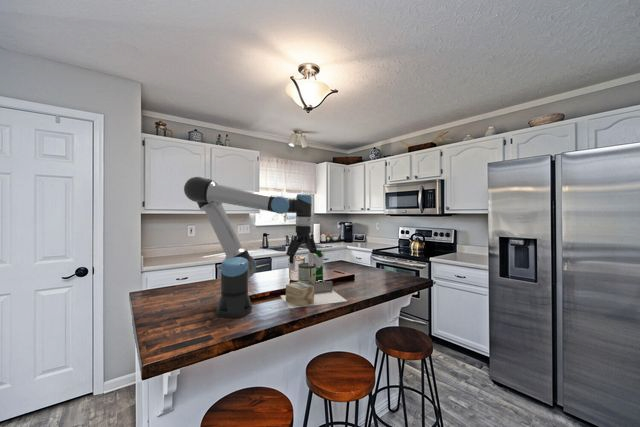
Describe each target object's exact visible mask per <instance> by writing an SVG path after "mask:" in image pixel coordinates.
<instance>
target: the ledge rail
mask: <svg viewBox="0 0 640 427" xmlns="http://www.w3.org/2000/svg"><path fill="white" fill-rule="evenodd" d="M304 284H307V285H311V286H314V293H323V292H332V290H333V281H332V280H329V281H327V280H326V281H325V280H324V279H323V280H322V282H315V283H307V282H305V283H304Z"/></svg>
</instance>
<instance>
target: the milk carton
mask: <svg viewBox="0 0 640 427" xmlns="http://www.w3.org/2000/svg"><path fill="white" fill-rule="evenodd" d="M309 253H310V252H308V253H307V255H308V258H309ZM324 257H325V253H323V252H322V250H321V249H317V251H316V253H314V259H313V263H314V264H316V281H318V280H324Z"/></svg>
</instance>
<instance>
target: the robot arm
mask: <svg viewBox="0 0 640 427" xmlns="http://www.w3.org/2000/svg"><path fill="white" fill-rule="evenodd" d="M183 191H184V192H183V193H184V195H185V196H186V198H187V199H189V201H191V202H195V203H196V204H197V206H198V208H199V209H200V210H201V211H202V212H204V213H205V215H206V217H207V220H208V221H209V223H210V225H211V227H212V229H213V232H214V233H215V236H216V237H217V240H218V241H219V243H220V246H221V249H222V250H223V252H224V255H225V258H224V260H223V261H221V267H220V297H219V299H218V303H217V307H216V315H217V316H218V317H221V318H223V319H235V318H241V317H244V316H247V315H249V314H251V313H252V311H253V304H252V302H251V301H252V300H251V299H250V295H249V279H251V277H252V276H253V275H254V274H255V272H256V268H257V263H256V260H255V259H254V258H253V257H252V256H251V255H250V254H249V251H248V249H247V248H244V247H243V246H242V244H241V242H240V239H239V237H238V235H237V232H235V229H234V227H233V225H232V223H231V221H230V218H229V217H228V214H227V212H226V210H225V208H224V206H223V204H228V205H233V206H239V207H245V208H248V209H255V210H260V211H266V212H271V213H276V214H279V215H284V214H295V233H296V235H291V240H290V243H289V246H288V248H287V251H286V253H285V254H286V256H288V258H289V270H290V271H296V256H295V255H296V254H297V252H298V250H299V248H300V246H302V245H305V246H306V248H307V250H308V251H309V252H308V253H309V257H308V261H307V263H308V265H309V266H313V259H314V253H316V251H317V250H318V249H317V244H316V242H315V239H314V238H315V237H314V234H313V233H311V232H312V230H311V229H312V227H311V224H312V220H311V219H312V207H313V206H312V203H313V202H312V201H313V200H312V195H311V194H309V193H308V194H307V193H301V194H300V193H297V194H296V197H286V196H282V195H275V194H270V193H264V192H258V191H253V190H249V189H244V188H237V187H231V186H227V185H221V184H219V183H217V182H216V181H214V180H212V179H210V178H205V177H201V176H195V177H190V178H189V179H188V180H187V181H186V182H185V183H184V187H183Z"/></svg>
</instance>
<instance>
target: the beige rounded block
mask: <svg viewBox="0 0 640 427" xmlns="http://www.w3.org/2000/svg"><path fill="white" fill-rule="evenodd" d="M285 295H286V301H288V302H291V303H293V304H296V305H299V306H301V307H300V308H304V307H303V306H305V307H307V306H306V305H309V304H312V303H314V286H311V285H307V284H304V283H301V282H298V281H295V282H291V283H287V284H285Z"/></svg>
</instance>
